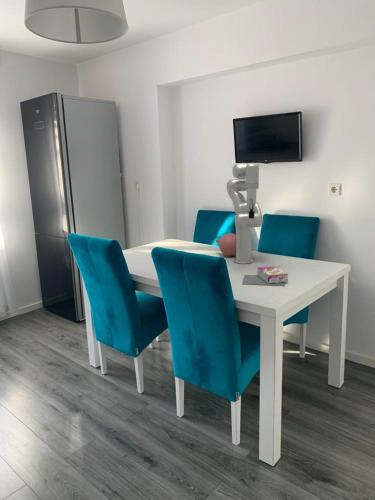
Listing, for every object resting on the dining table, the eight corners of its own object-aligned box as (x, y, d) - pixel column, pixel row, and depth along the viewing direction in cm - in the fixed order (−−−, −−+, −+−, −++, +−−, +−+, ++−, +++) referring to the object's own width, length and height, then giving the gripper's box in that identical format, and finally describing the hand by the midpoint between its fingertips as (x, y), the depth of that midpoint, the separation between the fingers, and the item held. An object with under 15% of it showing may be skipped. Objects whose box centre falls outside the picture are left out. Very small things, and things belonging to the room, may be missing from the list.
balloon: (223, 251, 290) (223, 230, 287) (246, 255, 276) (246, 233, 273) (209, 255, 280) (209, 233, 276) (232, 259, 266) (232, 236, 262)
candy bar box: (275, 265, 228) (288, 273, 212) (275, 274, 229) (287, 282, 214) (256, 267, 226) (268, 275, 210) (256, 275, 227) (268, 284, 211)
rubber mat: (244, 275, 230) (244, 274, 230) (284, 276, 225) (284, 276, 225) (242, 284, 213) (242, 283, 213) (284, 286, 209) (284, 285, 209)
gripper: (246, 185, 237) (245, 216, 241) (244, 187, 223) (244, 220, 227) (259, 185, 235) (258, 216, 239) (258, 187, 221) (257, 220, 225)
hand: (251, 218), depth 233 cm, fingers closed
